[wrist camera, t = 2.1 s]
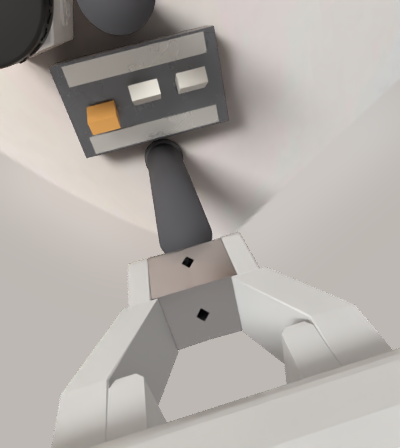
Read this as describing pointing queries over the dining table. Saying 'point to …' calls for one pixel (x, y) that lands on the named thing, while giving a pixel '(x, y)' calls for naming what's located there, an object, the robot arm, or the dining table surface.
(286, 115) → the dining table surface
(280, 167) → the dining table surface
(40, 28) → the jar
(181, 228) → the cord post outer
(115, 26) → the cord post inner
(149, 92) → the white block
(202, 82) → the white block
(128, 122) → the breaker panel
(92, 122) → the tripped paddle
